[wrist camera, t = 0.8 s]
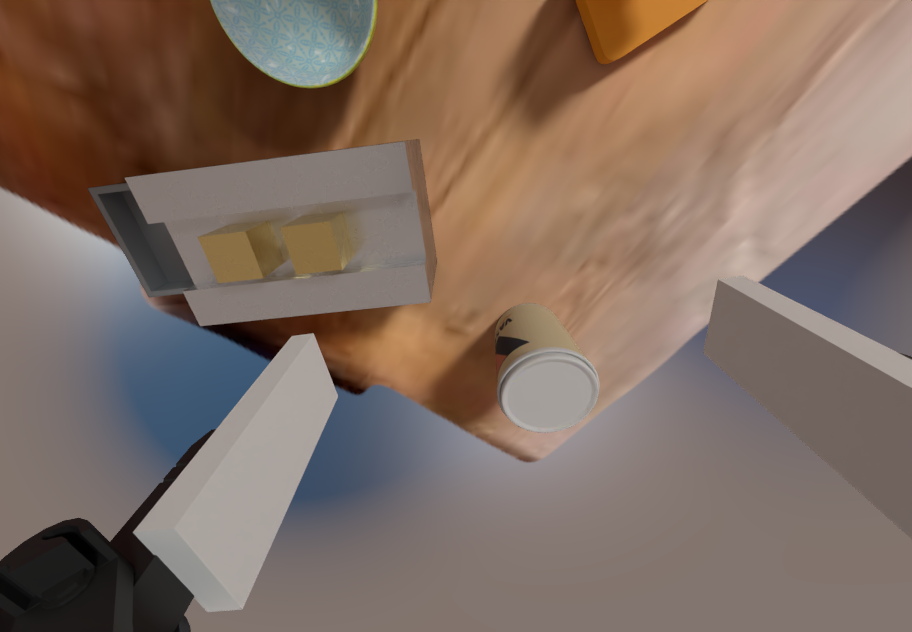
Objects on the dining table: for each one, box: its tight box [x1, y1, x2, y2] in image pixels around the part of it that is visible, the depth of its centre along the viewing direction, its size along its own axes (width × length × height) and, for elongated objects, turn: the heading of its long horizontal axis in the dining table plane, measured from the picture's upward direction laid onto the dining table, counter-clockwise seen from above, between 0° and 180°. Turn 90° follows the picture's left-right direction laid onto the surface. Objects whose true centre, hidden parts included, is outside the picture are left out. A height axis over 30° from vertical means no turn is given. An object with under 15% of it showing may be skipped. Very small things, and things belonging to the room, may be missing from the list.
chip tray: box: [88, 183, 195, 297], centre depth 36 cm, size 11×12×3 cm
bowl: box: [210, 0, 378, 88], centre depth 26 cm, size 11×12×6 cm
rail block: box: [125, 139, 437, 326], centre depth 32 cm, size 12×20×10 cm, turn 97°
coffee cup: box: [495, 303, 599, 433], centre depth 37 cm, size 9×9×12 cm
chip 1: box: [198, 220, 284, 283], centre depth 27 cm, size 4×4×4 cm
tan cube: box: [280, 211, 355, 275], centre depth 27 cm, size 4×4×4 cm
